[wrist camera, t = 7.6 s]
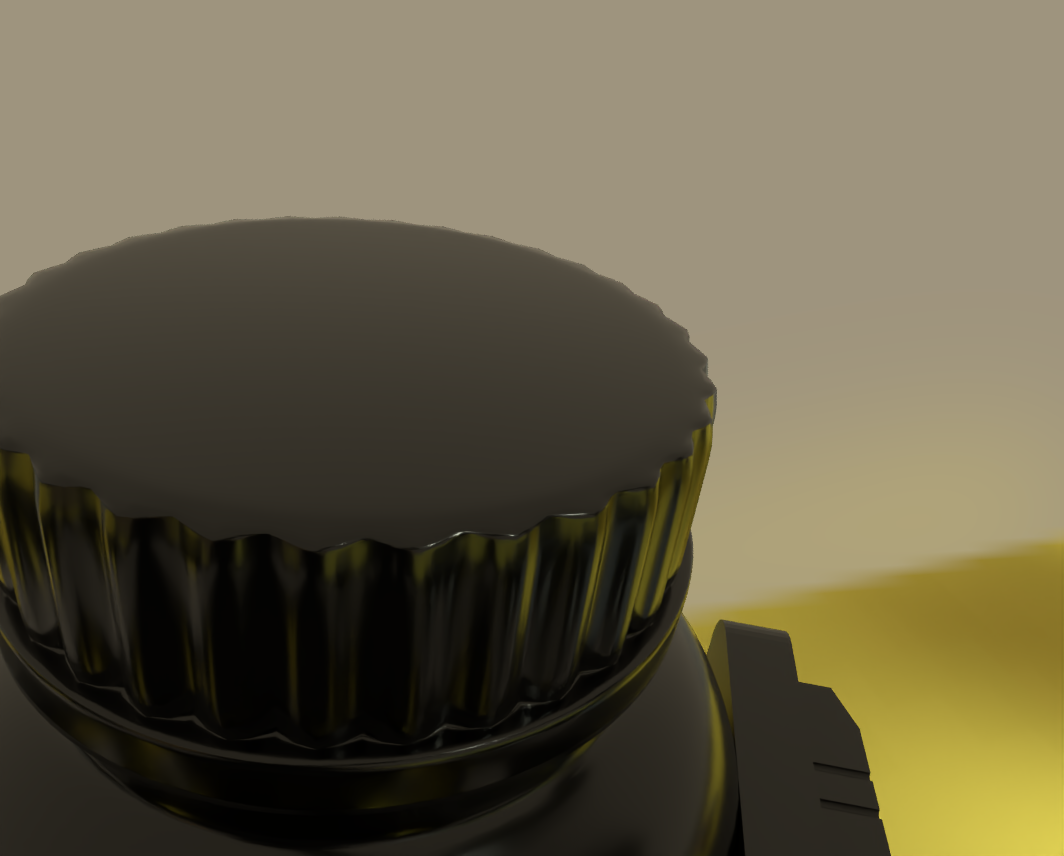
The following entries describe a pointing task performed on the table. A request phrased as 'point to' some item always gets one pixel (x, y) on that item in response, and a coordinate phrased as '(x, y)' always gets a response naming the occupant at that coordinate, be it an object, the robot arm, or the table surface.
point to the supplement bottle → (351, 553)
